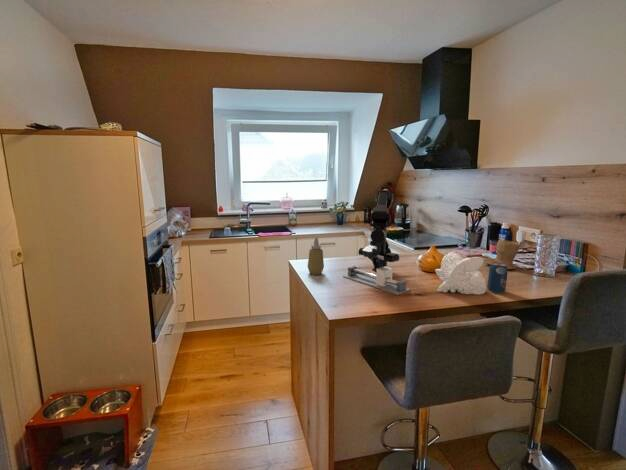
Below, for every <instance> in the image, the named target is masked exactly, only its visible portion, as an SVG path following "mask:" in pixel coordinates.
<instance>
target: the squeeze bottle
mask: <svg viewBox="0 0 626 470" xmlns="http://www.w3.org/2000/svg"><path fill="white" fill-rule="evenodd" d="M308 251H309V252H308V260H307V270H308V272H309V274H310V275H313V276H320V275H322V273H323V271H324V268H325V263H324V250H323V249H322V244H320V243H319V239H318V237H317V236H315V237H314V241H313V244H311V248H309V250H308Z"/></svg>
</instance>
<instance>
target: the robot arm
mask: <svg viewBox="0 0 626 470" xmlns="http://www.w3.org/2000/svg"><path fill="white" fill-rule="evenodd" d="M374 197H375V198H374V199H375V202H376V206H375V207H373V209H372V212H371V214H370V221H369V227H373V228H372V231H371V233H370V239H371V240H370V242H369V244H368V245H367V246H364V247H360V248H359V249H358V252H357V253H358V255H359V256H363V257H364V258H367V259H369V260H370V261H371V263H372V264H373V268H371V270H372V271H374V272H375V273H376V270H377V268H381V267H388V263H394V262H398V261H400V255H399V254H398V253H396V252H392V250H391V248H390V244H389V241H388V240H387V234H388V233H387V232H388V231H387V230H388V228H389V226H391V214H390V213H389V209H390V208H391V207H392V203H393V202H394V193H393V192H391V191H390V190H389V189H379V190H377V191H376V192H375V196H374Z"/></svg>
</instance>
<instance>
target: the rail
mask: <svg viewBox="0 0 626 470" xmlns="http://www.w3.org/2000/svg"><path fill="white" fill-rule="evenodd" d="M357 274H360V275H363V276H366V277H369V278H373V279H376V273H375V274H374V273H371V272H367V271H364V270H361V269H358V266H356V265H353V266H349V267H347V275H348V276H353V275H357ZM385 283H389V284H392V285H396V286H397V291H398V292H401V291H404V290H406V288H407V280H405V279H402V280H399V281H398V280H394V279H393V278H392V279H388V278H386V282H385Z"/></svg>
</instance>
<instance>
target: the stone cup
mask: <svg viewBox="0 0 626 470" xmlns="http://www.w3.org/2000/svg"><path fill="white" fill-rule="evenodd" d="M519 249H520V244H519V243H518V242H515V241H511V240H506V239H502V238H501V239H499V240H498V241H497V244H496V257H495V258H491V257H487V258H485V259H483V260H484V261H483V264H486V265H489V266H491V264H492V263H493V262H498V263H504V264H506V265H507V268H508V270H514V269H516V268H517V266H516V265H515V264H514V263H513V262H514V260H515V258H516V256H517V254H518V252H519Z"/></svg>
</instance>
